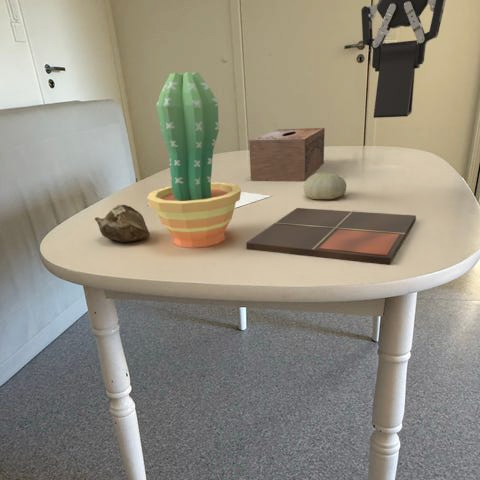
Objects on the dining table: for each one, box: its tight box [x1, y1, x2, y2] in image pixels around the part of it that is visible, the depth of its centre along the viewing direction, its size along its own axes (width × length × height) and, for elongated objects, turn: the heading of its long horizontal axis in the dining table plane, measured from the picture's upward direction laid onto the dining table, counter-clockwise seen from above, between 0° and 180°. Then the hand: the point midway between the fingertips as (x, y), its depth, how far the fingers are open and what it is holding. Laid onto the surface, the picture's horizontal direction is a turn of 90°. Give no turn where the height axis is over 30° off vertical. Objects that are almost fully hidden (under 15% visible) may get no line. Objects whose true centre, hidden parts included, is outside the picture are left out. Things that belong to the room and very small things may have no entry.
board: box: [245, 207, 417, 265], centre depth 74 cm, size 22×22×1 cm
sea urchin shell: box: [303, 172, 348, 201], centre depth 96 cm, size 9×8×8 cm
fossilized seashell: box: [94, 204, 150, 243], centre depth 78 cm, size 8×7×10 cm
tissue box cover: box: [248, 127, 326, 182], centre depth 124 cm, size 26×14×10 cm, turn 160°
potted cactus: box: [146, 71, 242, 249], centre depth 70 cm, size 15×15×25 cm
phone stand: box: [373, 39, 418, 119], centre depth 83 cm, size 9×6×12 cm, turn 156°
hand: (396, 69), depth 82 cm, fingers closed on phone stand, 6 cm apart
